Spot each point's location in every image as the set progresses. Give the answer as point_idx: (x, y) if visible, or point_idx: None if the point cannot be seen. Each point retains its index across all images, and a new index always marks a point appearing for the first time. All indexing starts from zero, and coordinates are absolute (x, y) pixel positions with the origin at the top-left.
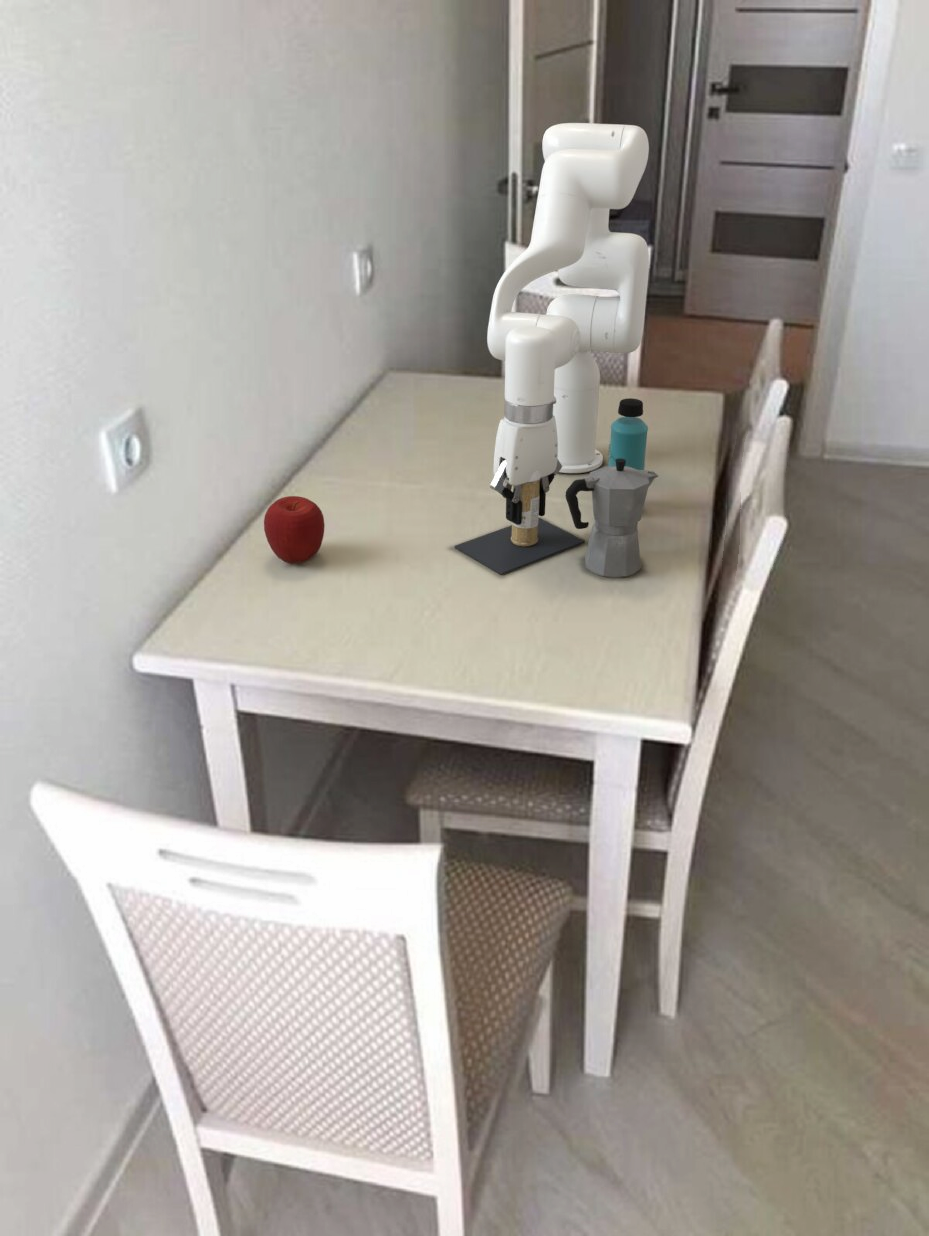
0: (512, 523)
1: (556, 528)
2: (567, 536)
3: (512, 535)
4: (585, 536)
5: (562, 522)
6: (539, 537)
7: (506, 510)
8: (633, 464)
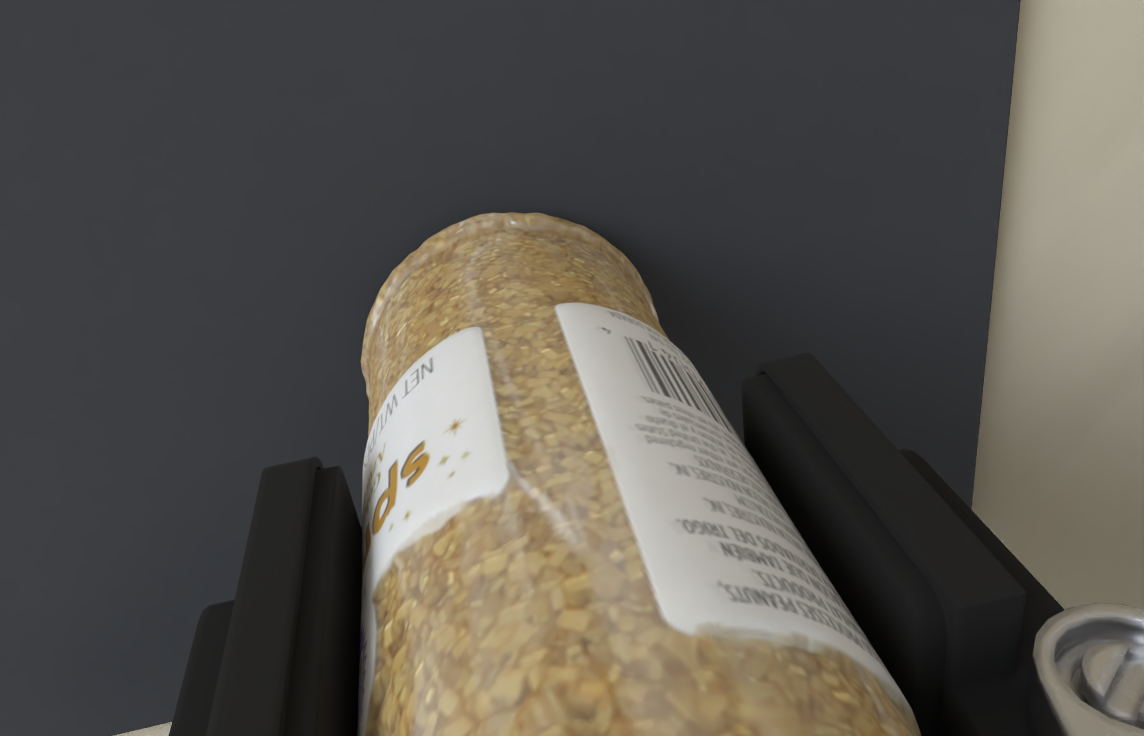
0: (364, 458)
1: (966, 236)
2: (919, 421)
3: (370, 371)
4: (1051, 429)
5: (1139, 85)
6: (696, 334)
7: (191, 684)
8: None
